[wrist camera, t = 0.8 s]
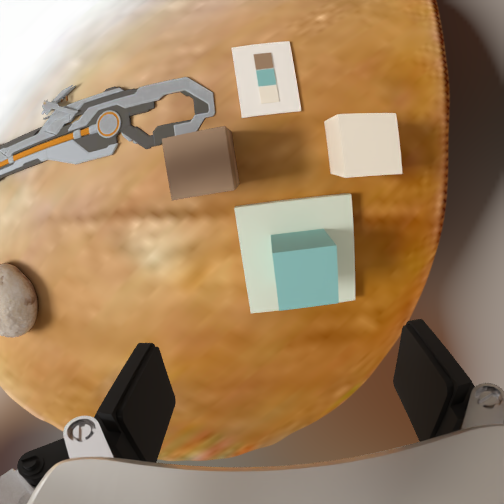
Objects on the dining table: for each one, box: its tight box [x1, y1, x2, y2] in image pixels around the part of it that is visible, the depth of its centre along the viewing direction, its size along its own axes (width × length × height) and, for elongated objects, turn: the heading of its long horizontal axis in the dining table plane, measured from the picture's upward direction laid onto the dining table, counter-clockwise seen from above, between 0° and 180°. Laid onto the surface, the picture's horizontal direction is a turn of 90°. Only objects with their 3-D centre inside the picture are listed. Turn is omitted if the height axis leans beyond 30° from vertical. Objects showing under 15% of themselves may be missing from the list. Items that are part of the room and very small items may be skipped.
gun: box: [0, 77, 215, 180], centre depth 29 cm, size 39×2×10 cm
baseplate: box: [234, 193, 355, 313], centre depth 33 cm, size 12×12×1 cm
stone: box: [0, 263, 38, 337], centre depth 35 cm, size 13×10×8 cm
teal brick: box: [271, 229, 339, 311], centre depth 29 cm, size 6×6×6 cm
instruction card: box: [232, 41, 301, 118], centre depth 27 cm, size 8×6×1 cm
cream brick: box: [324, 113, 402, 178], centre depth 27 cm, size 6×6×6 cm
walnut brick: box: [162, 126, 239, 200], centre depth 28 cm, size 6×6×6 cm
